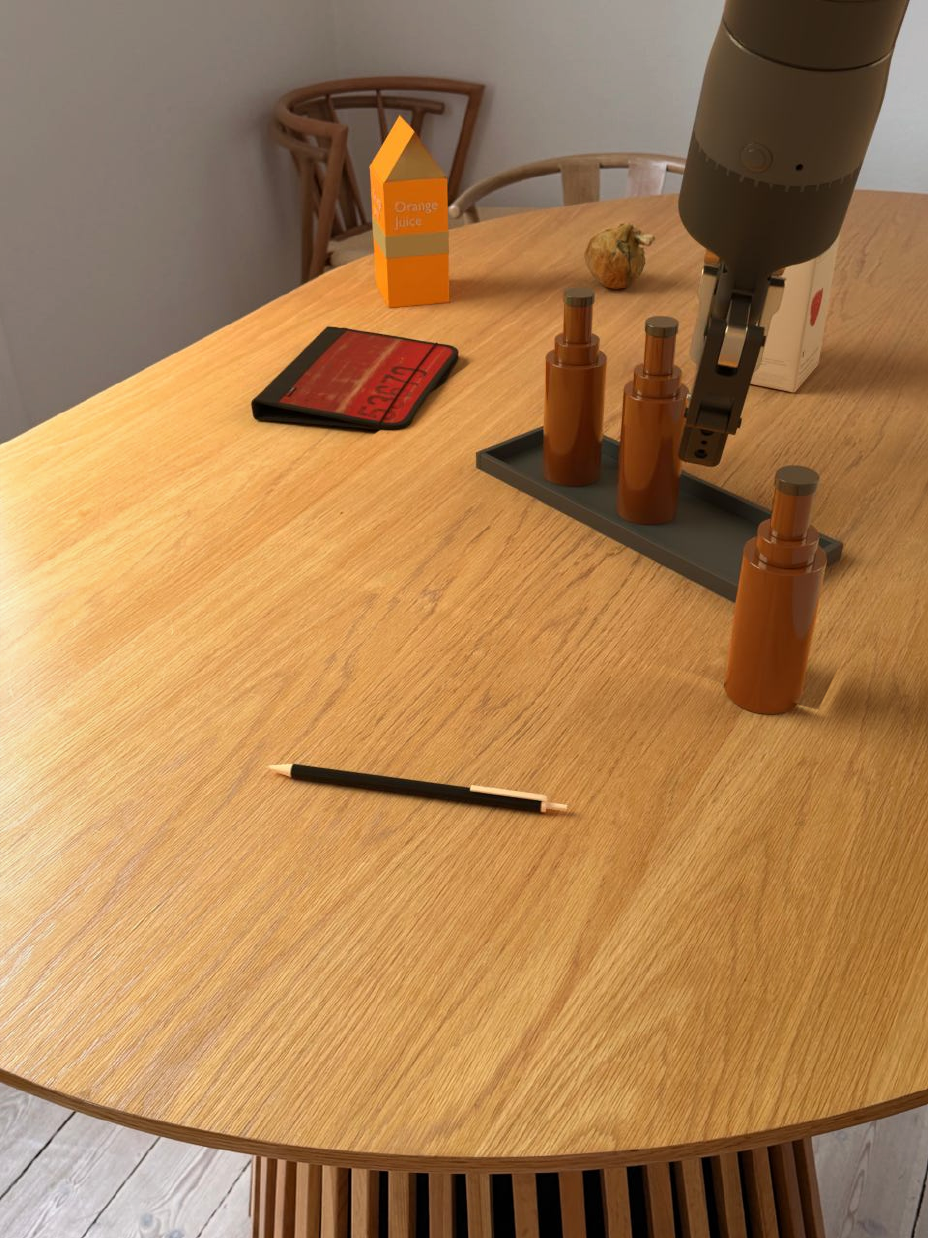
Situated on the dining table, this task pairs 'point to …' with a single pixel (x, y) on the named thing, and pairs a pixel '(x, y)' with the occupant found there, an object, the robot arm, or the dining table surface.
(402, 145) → the orange juice
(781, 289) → the robot arm
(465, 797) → the pen
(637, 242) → the onion
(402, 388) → the binder
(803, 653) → the bottle
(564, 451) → the bottle
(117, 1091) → the dining table surface
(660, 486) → the bottle
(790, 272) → the white product box
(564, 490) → the tray
